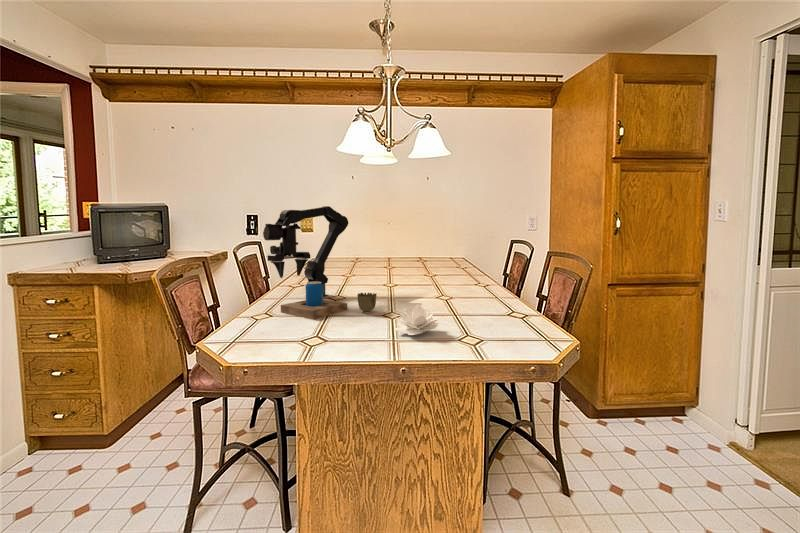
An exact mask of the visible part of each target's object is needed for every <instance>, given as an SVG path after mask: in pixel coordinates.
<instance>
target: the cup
mask: <svg viewBox="0 0 800 533" xmlns="http://www.w3.org/2000/svg"><path fill="white" fill-rule="evenodd" d="M356 295H357V296H356V297H357V303H358V307H359V309H360V310H361V311H362V312H361V313H362V314H371V313H373V311H374V309H375V308H376V303H377V292H376V293H375V292H373V293H372V292H358V293H357V294H356Z"/></svg>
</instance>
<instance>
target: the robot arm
mask: <svg viewBox="0 0 800 533" xmlns="http://www.w3.org/2000/svg"><path fill="white" fill-rule="evenodd" d="M322 216H323V217H324V218H325V220H326V221H327V222H328V232H327V234H326V236H325V238H324V240H323V242H322V243H321V245H320V248H319V249H318V252H317V253H316V256H315V258H314V259H313V260H309V259H311V254H310V252H308V251H297V246H298V245H299V242H297V230H301V228H302V227H301V226H300V225H299V224H298V223H299V222H301V221H303V220H305V219H312V218H317V217H322ZM348 226H349V219H348V217H346V216H345V215H342V214H341V213H340V212H338V211H336V210H335V209H333V208H332V207H331V206H325V205H324V206H321V207H316V208H314V207H313V208H309V209H301V210H300V209H284V210H282V211H281V212H280V214H279V217H278V219H277V221H276V222H275V223H274V224H273V223H265V227H264V228H263V232H262V235H263V239H264V240H265V241H281V242H279V245H278V246H276V245H271V246H269V251H270V253H268V255H267V262H270V263H271V264H273V265H274V267H275V269H276V271H277V273H278V276H279V278H280V279H283V277H284V270H285V261H284V260H290V259H294V261H295V263H296V275H297V276H298V277H299V276H300V275H301V274H302V270H303V269H304V273H303V274H304V276H305V278H306V279H307V281H308V282H312V281H318V282H321V284H322V285H323V298H324V297H328V296H329V294H326V284H328V283H329V282H328V281H329V278H328V277H327V275H325V269H326V267H325V266H326V261H327V259H328V257H329V256H330V254H331V252H332V249H333V247H334V246H335V243H336V242H337V239H338V237H339V236H340V235H341V234H343V232H344V231H345V230H346V229H347V228H348ZM306 263H307V264H306ZM304 266H305V267H304Z"/></svg>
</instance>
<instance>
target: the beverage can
mask: <svg viewBox="0 0 800 533" xmlns="http://www.w3.org/2000/svg"><path fill="white" fill-rule="evenodd" d="M305 300H306V306H311V307H316V306H321V305H323V300H324V297H323V285H322V284H321V282H318V281H312V282H306V284H305Z"/></svg>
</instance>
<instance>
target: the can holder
mask: <svg viewBox="0 0 800 533" xmlns="http://www.w3.org/2000/svg"><path fill="white" fill-rule="evenodd" d="M347 310H348V303H347V302H341V301H335V300H329V299H323V305H321V306H316V307H311V306H306V299H305V300H300V301H294V302H289V303H285V304H284V303H283V304H280V313H281V314H285V315H289V316H290V315H291V316H295V317H300V318H303V317H304V319H308V320H312V321H313V320H317V318H318V319H320V318H323V317H327V316H330V315H333V314H337V313H341V312H344V311H347Z"/></svg>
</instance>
